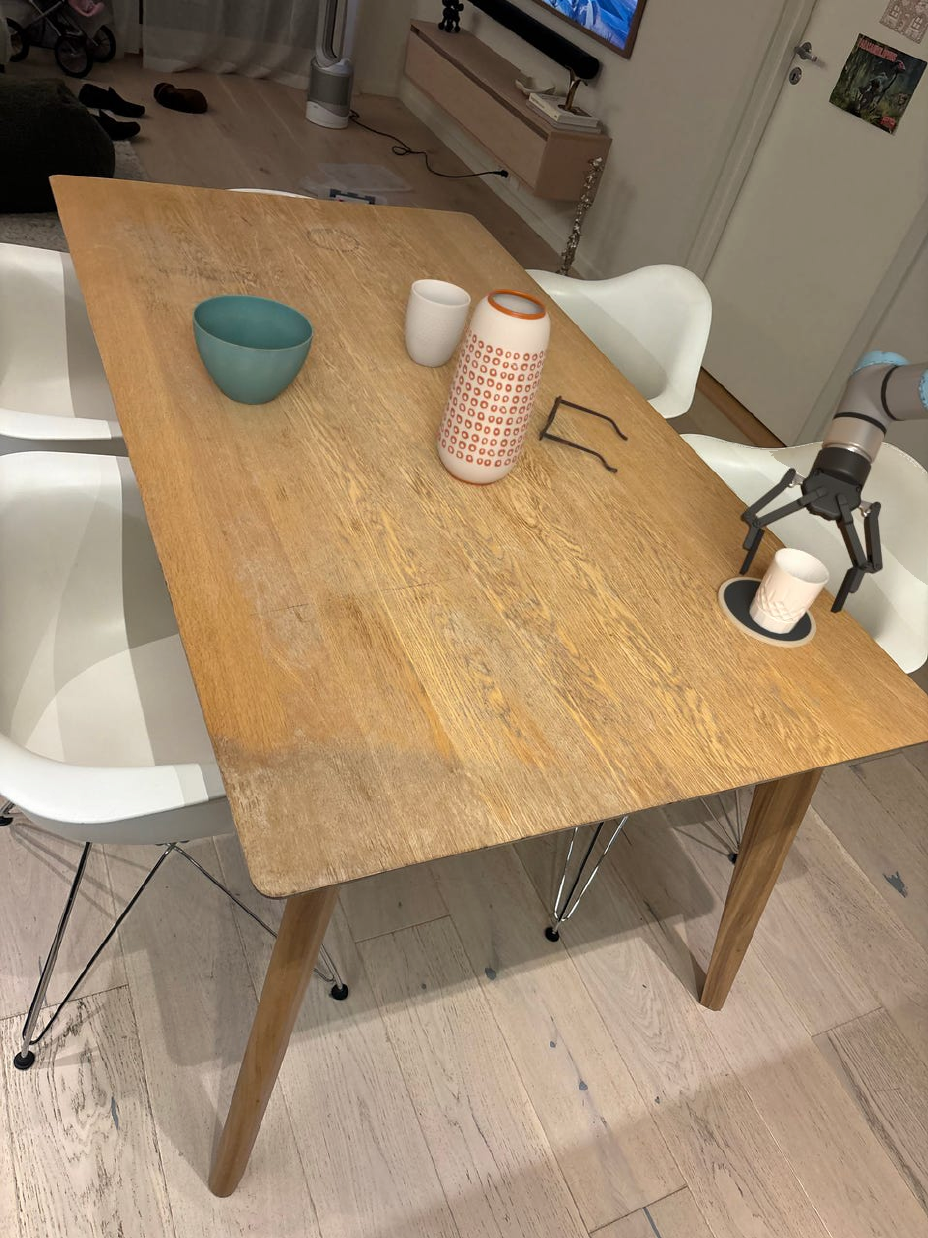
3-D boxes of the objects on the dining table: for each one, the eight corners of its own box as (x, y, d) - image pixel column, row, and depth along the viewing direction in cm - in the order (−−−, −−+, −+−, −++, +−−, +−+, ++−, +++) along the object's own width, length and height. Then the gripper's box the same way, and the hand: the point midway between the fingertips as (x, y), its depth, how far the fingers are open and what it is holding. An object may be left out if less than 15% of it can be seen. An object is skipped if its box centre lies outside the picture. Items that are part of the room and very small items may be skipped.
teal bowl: (310, 425, 145) (320, 354, 138) (190, 416, 140) (193, 341, 132) (299, 370, 158) (307, 302, 150) (188, 359, 152) (191, 287, 144)
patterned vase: (527, 476, 149) (580, 311, 131) (481, 504, 140) (531, 331, 122) (462, 438, 153) (505, 274, 135) (413, 463, 144) (453, 290, 126)
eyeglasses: (551, 411, 168) (558, 387, 165) (627, 438, 167) (637, 414, 164) (534, 447, 157) (543, 421, 154) (617, 475, 156) (627, 450, 153)
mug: (384, 334, 176) (396, 267, 168) (436, 336, 181) (451, 271, 172) (409, 372, 167) (423, 304, 158) (464, 374, 171) (480, 307, 163)
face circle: (832, 626, 137) (834, 623, 136) (782, 661, 128) (784, 658, 127) (750, 568, 144) (752, 565, 143) (698, 598, 134) (699, 595, 134)
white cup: (807, 629, 134) (840, 577, 127) (773, 642, 129) (806, 589, 123) (767, 595, 138) (798, 543, 131) (734, 607, 134) (763, 554, 127)
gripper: (920, 497, 133) (865, 630, 131) (756, 433, 136) (700, 562, 134) (942, 482, 125) (884, 624, 123) (768, 415, 129) (709, 552, 127)
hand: (788, 592), depth 129 cm, fingers open, 13 cm apart
